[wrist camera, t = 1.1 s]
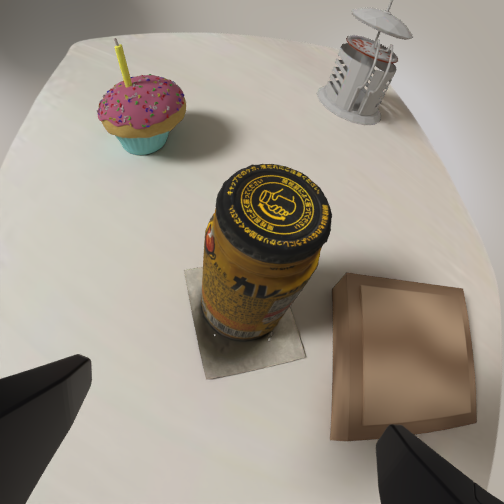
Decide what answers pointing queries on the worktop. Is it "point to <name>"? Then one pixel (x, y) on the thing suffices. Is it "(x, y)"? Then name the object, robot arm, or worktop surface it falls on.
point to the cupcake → (141, 109)
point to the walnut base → (399, 358)
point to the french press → (363, 69)
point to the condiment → (256, 268)
